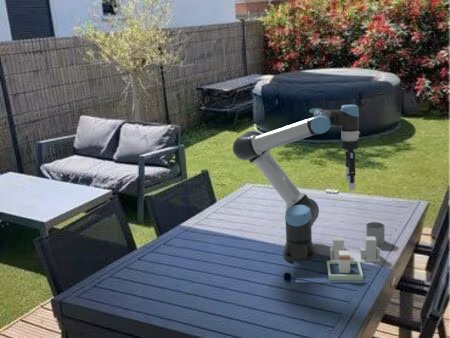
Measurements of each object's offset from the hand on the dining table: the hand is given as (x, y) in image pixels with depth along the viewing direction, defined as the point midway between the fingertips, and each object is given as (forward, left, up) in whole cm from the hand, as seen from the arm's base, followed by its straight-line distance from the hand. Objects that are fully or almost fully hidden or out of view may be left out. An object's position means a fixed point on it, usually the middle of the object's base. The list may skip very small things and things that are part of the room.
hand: (350, 185), depth 226 cm
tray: (-5, -25, -32) cm, 41 cm away
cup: (+12, +5, -32) cm, 35 cm away
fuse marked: (-5, -25, -31) cm, 40 cm away
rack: (0, -12, -32) cm, 34 cm away
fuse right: (+7, -12, -30) cm, 33 cm away
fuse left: (-7, -12, -30) cm, 33 cm away
